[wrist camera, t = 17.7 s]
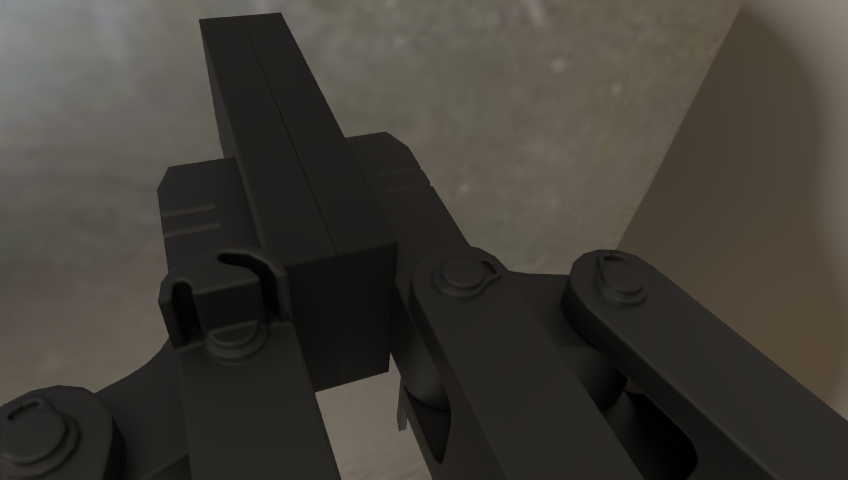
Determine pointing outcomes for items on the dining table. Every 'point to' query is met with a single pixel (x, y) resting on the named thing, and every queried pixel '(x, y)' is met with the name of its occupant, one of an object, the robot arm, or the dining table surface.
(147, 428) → the robot arm
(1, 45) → the dining table surface
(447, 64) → the dining table surface
